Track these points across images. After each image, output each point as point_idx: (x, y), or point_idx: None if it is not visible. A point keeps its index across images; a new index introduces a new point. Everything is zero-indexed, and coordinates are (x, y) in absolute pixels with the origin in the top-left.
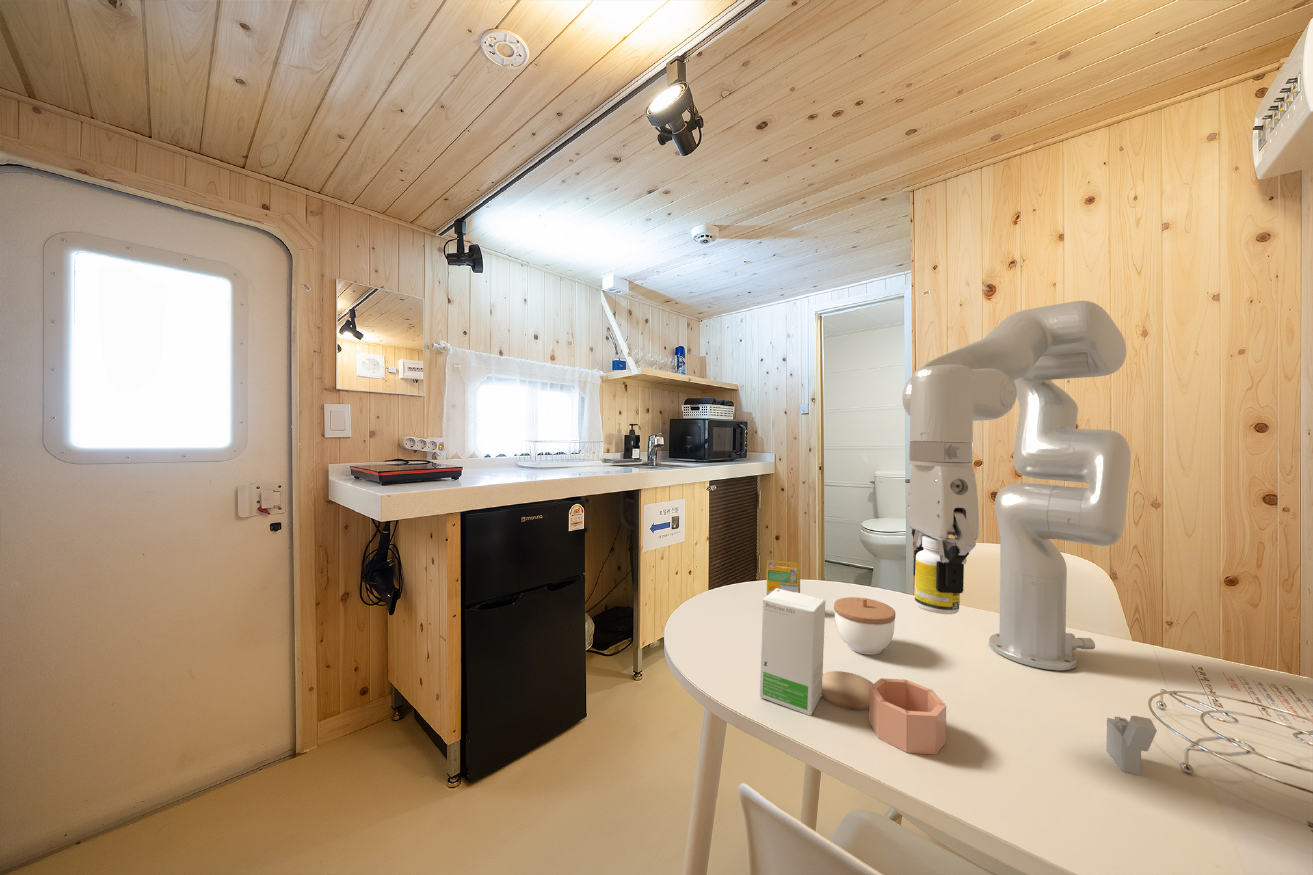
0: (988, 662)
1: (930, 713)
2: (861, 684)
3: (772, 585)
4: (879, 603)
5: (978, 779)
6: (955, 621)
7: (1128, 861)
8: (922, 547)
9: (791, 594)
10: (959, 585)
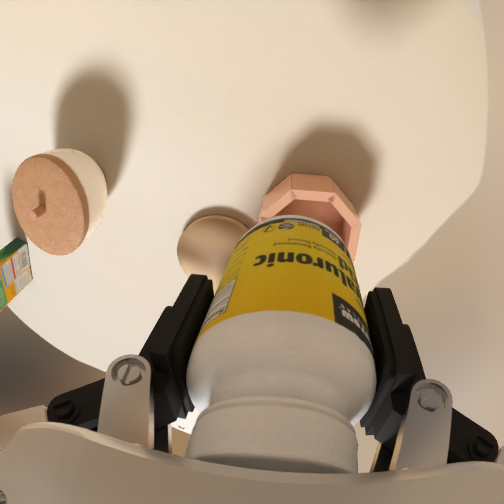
0: (104, 6)
1: (355, 229)
2: (209, 237)
3: (10, 294)
4: (24, 176)
5: (393, 179)
6: (4, 26)
7: (484, 118)
8: (176, 416)
9: (193, 422)
10: (407, 327)
